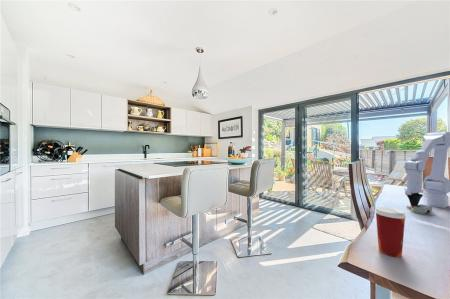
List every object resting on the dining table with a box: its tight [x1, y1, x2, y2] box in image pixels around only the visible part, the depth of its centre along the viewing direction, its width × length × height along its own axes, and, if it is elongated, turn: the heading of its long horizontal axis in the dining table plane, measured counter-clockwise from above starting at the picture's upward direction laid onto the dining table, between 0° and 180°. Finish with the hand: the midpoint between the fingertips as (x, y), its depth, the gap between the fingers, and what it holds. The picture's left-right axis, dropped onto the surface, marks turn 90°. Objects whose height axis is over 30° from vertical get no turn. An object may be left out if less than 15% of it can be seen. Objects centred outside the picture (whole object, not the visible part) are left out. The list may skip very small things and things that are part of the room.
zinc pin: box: [410, 207, 434, 216], centre depth 93 cm, size 5×7×3 cm, turn 22°
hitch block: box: [413, 204, 433, 216], centre depth 93 cm, size 8×4×4 cm, turn 112°
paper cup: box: [374, 206, 407, 258], centre depth 59 cm, size 8×8×14 cm
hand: (414, 206), depth 100 cm, fingers closed
